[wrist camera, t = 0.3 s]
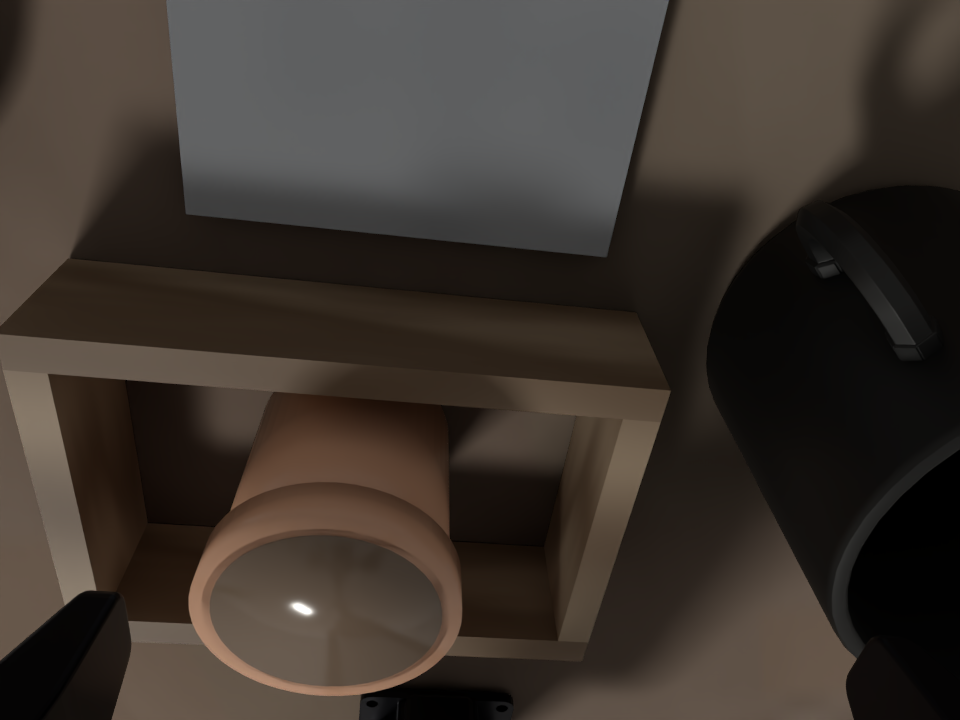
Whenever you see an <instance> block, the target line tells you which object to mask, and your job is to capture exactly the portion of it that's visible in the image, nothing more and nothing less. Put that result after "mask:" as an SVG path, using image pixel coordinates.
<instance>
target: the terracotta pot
mask: <svg viewBox="0 0 960 720" xmlns="http://www.w3.org/2000/svg"><path fill="white" fill-rule="evenodd" d="M189 612H190V617H191V621H192V623H193V626H194V628H195V630H196V632H197V634H198V636H199V637H200V639H201V640H202V642H203V643H204V644H205V645H206V646H207V648H208V649H209V650H210V651H211V652H212V653H213V654H214V655H215V656H216V657H218V658H219V659H220V660H221V661H222V662H223V663H225V664H226V665H228V666H229V667H231V668H232V669H234V670H235V671H237V672H239V673H241V674H243V675H245V676H246V677H248V678H251V679H253V680H255V681H258V682H260V683H262V684H266V685H269V686H272V687H275V688H278V689H282V690H287V691H291V692H296V693H302V694H309V695H322V696H346V695H358V694H364V693H371V692H376V691H380V690H384V689H388V688H391V687H394V686H397V685H400V684H402V683H405V682H407V681H409V680H411V679H413V678H415V677H417V676H419V675H421V674H422V673H424V672H426V671H427V670H429V669H430V668H431V667H432V666H434V665H435V664H436V663H438V662H439V661H440V660H441V659H442V658H443V657H444V656H445V655H446V653H447V652H448V651H449V649H450V648H451V647H452V645H453V644H454V642H455V640H456V638H457V636H458V633H459V630H460V626H461V622H462V578H461V566H460V560H459V557H458V554H457V551H456V549H455V547H454V545H453V543H452V541H451V539H450V532H449V432H448V424H447V420H446V417H445V414H444V412H443V410H442V408H441V405H436V404H424V403H411V402H399V401H386V400H373V399H361V398H348V397H336V396H323V395H310V394H298V393H285V392H274V393H273V394H272V396H271V397H270V399H269V401H268V403H267V405H266V408H265V410H264V413H263V416H262V419H261V422H260V425H259V428H258V431H257V434H256V437H255V439H254V442H253V445H252V448H251V451H250V454H249V457H248V460H247V463H246V466H245V469H244V472H243V475H242V478H241V481H240V484H239V487H238V489H237V492H236V495H235V498H234V501H233V504H232V507H231V510H230V512H229V513H228V514H226V515H225V516H224V517H223V518H222V520H221V521H220V522H219V523H218V524H217V525H216V526H215V528H214V529H213V531H212V533H211V534H210V536H209V538H208V540H207V543H206V545H205V548H204V551H203V553H202V556H201V559H200V562H199V564H198V567H197V570H196V573H195V576H194V578H193V581H192V584H191V587H190V593H189Z"/></svg>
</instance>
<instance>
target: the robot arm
mask: <svg viewBox="0 0 960 720" xmlns="http://www.w3.org/2000/svg"><path fill="white" fill-rule="evenodd" d="M130 652H131V634H130V628H129V622H128V616H127V610H126V604H125V599H124V597H123V595H122V594H121V593H119V592H112V591H94V590H89V591H84V592H82V593H80V594H78V595H77V596H76V597H74V598H73V599H72V600H71V601H70V602H68V603H67V604H66V605H65V606H64V607H63V608H61V609H60V610H59V611H58V612H57V613H56V614H54V615H53V616H52V617H51V618H50V619H49V620H47V621H46V622H45V623H44V624H43V625H42V626H40V627H39V628H38V629H37V630H36V631H35V632H33V633H32V634H31V635H30V636H29V637H28V638H26V639H25V640H24V641H23V642H22V643H20V644H19V645H18V646H17V647H16V648H15V649H13V650H12V651H11V652H10V653H9V654H8V655H6V656H5V657H4V658H3V659H2V660H1V661H0V720H111V719H112V716H113V712H114V709H115V706H116V702H117V699H118V695H119V692H120V689H121V685H122V682H123V678H124V675H125V672H126V668H127V665H128V661H129V657H130ZM846 692H847V697H848V701H849V704H850V708H851V711H852V714H853V718H854V720H960V679H959V678H957V677H956V676H955V675H954V674H952V673H951V672H950V671H949V670H948V669H946V668H945V667H944V666H943V665H942V664H940V663H939V662H938V661H937V660H936V659H934V658H933V657H932V656H931V655H929V654H928V653H927V652H926V651H925V650H923V649H922V648H921V647H920V646H919V645H917V644H916V643H915V642H913V641H912V640H910V639H908V638H905V637H900V636H884V635H877V636H874V637H872V638H871V639H870V640H869V641H868V642H867V644H866V646H865V647H864V649H863V650H862V652H861V654H860V655H859V657H858V658H857V660H856V662H855V663H854V665H853V666H852V668H851V670H850V671H849V673H848V675H847V679H846ZM512 713H513V698H512V697H511V695H509V694H506V693H489V692H463V691H437V690H411V689H384V690H380V691H376V692H371V693H364V694H361V701H360V714H359V720H511V716H512Z"/></svg>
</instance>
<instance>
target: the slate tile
mask: <svg viewBox="0 0 960 720" xmlns="http://www.w3.org/2000/svg"><path fill="white" fill-rule="evenodd" d="M166 2H167V13H168V24H169V35H170V46H171V57H172V68H173V79H174V90H175V101H176V112H177V123H178V134H179V145H180V156H181V167H182V178H183V189H184V200H185V211H186V214H189V215H199V216H209V217H218V218H228V219H238V220H248V221H257V222H267V223H277V224H287V225H296V226H306V227H316V228H326V229H335V230H345V231H355V232H364V233H374V234H384V235H394V236H403V237H413V238H423V239H433V240H442V241H452V242H462V243H472V244H481V245H491V246H501V247H511V248H520V249H530V250H540V251H549V252H559V253H569V254H579V255H588V256H598V257H607V254H608V250H609V246H610V241H611V237H612V233H613V229H614V225H615V221H616V217H617V213H618V208H619V204H620V200H621V196H622V192H623V188H624V184H625V180H626V175H627V171H628V167H629V163H630V159H631V155H632V151H633V146H634V142H635V138H636V134H637V130H638V126H639V122H640V118H641V113H642V109H643V105H644V101H645V97H646V93H647V89H648V85H649V80H650V76H651V72H652V68H653V64H654V60H655V56H656V52H657V47H658V43H659V39H660V35H661V31H662V27H663V23H664V18H665V14H666V10H667V6H668V2H669V0H166Z"/></svg>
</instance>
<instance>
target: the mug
mask: <svg viewBox="0 0 960 720" xmlns="http://www.w3.org/2000/svg"><path fill="white" fill-rule="evenodd" d="M706 364H707V376H708V383H709V388H710V391H711V393H712V396H713V399H714V401H715V403H716V405H717V407H718V409H719V411H720V413H721V415H722V417H723V419H724V421H725V423H726V425H727V427H728V428H729V430H730V432H731V434H732V436H733V438H734V440H735V442H736V444H737V446H738V448H739V450H740V452H741V453H742V455H743V457H744V459H745V461H746V463H747V465H748V467H749V469H750V471H751V473H752V475H753V476H754V478H755V480H756V482H757V484H758V486H759V488H760V490H761V492H762V494H763V496H764V498H765V500H766V501H767V503H768V505H769V507H770V509H771V511H772V513H773V515H774V517H775V519H776V521H777V523H778V524H779V526H780V528H781V530H782V532H783V534H784V536H785V538H786V540H787V542H788V544H789V546H790V547H791V549H792V551H793V553H794V555H795V557H796V559H797V561H798V563H799V565H800V567H801V569H802V571H803V572H804V574H805V576H806V578H807V580H808V582H809V584H810V586H811V588H812V590H813V592H814V594H815V595H816V597H817V599H818V601H819V603H820V605H821V607H822V609H823V611H824V613H825V615H826V617H827V619H828V620H829V622H830V624H831V626H832V628H833V630H834V632H835V633H836V635H837V636H838V638H839V639H840V641H841V642H842V644H843V645H844V647H845V648H846V649H847V650H848V651H849V652H851V653H852V654H853V655H854V656H855V657H856V658H858V657H859V655H860V654H861V652H862V650H863V649H864V647H865V646H866V644H867V642H868V641H869V640H870V639H871V638H872V637H874V636H877V635H884V636H900V637H905V638H908V639H910V640H912V641H913V642H915V643H916V644H917V645H919V646H920V647H921V648H922V649H923V650H925V651H926V652H927V653H928V654H929V655H931V656H932V657H933V658H934V659H936V660H937V661H938V662H939V663H940V664H942V665H943V666H944V667H945V668H946V669H948V670H949V671H950V672H951V673H952V674H954V675H955V676H956V677H957V678H959V679H960V191H957V190H952V189H946V188H941V187H934V186H897V187H890V188H882V189H875V190H870V191H866V192H862V193H858V194H855V195H851V196H848V197H844V198H842V199H839V200H837V201H835V202H832V203H830V204H828V203H826V202H824V201H821V200H818V201H816V202H814V203H811V204H809V205H807V206H805V207H803V208H801V209H800V210H799V212H798V217H797V221H795V222H793V223H792V224H791V225H789V226H788V227H787V228H785V229H784V230H783V231H781V232H780V233H779V234H777V235H776V236H775V237H773V238H772V239H771V240H770V241H769V242H768V243H766V244H765V245H764V246H763V247H762V248H761V249H760V250H759V251H758V252H757V253H756V254H755V255H754V256H753V257H752V258H751V259H750V260H749V261H748V263H747V264H746V265H745V266H744V268H743V269H742V270H741V271H740V273H739V274H738V275H737V277H736V278H735V279H734V281H733V282H732V284H731V286H730V287H729V289H728V291H727V292H726V294H725V296H724V297H723V299H722V301H721V304H720V306H719V308H718V311H717V313H716V316H715V318H714V321H713V325H712V329H711V333H710V337H709V342H708V346H707V363H706Z"/></svg>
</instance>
